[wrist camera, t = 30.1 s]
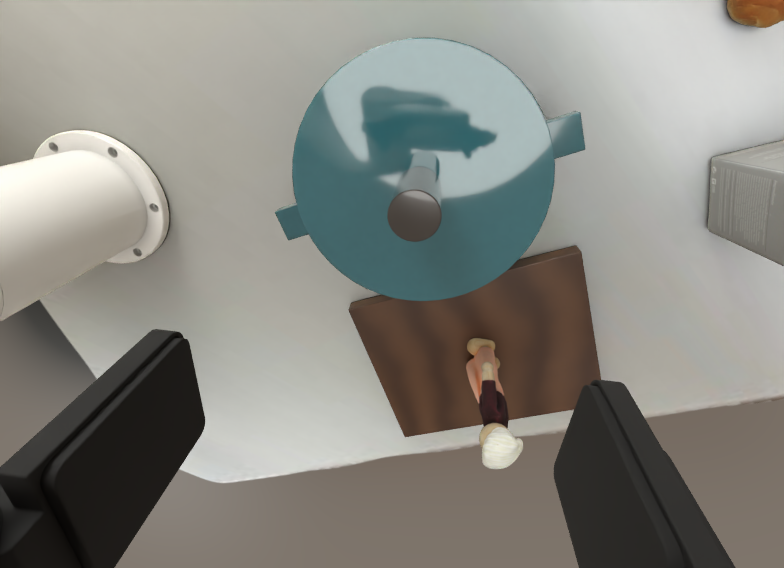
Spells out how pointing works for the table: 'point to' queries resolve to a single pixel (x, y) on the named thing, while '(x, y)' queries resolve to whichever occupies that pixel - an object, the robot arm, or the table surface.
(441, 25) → the table surface
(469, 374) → the grandmother figurine
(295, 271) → the table surface
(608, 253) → the table surface
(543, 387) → the board
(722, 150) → the table surface
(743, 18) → the pastry
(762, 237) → the cosmetic box
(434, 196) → the lid
